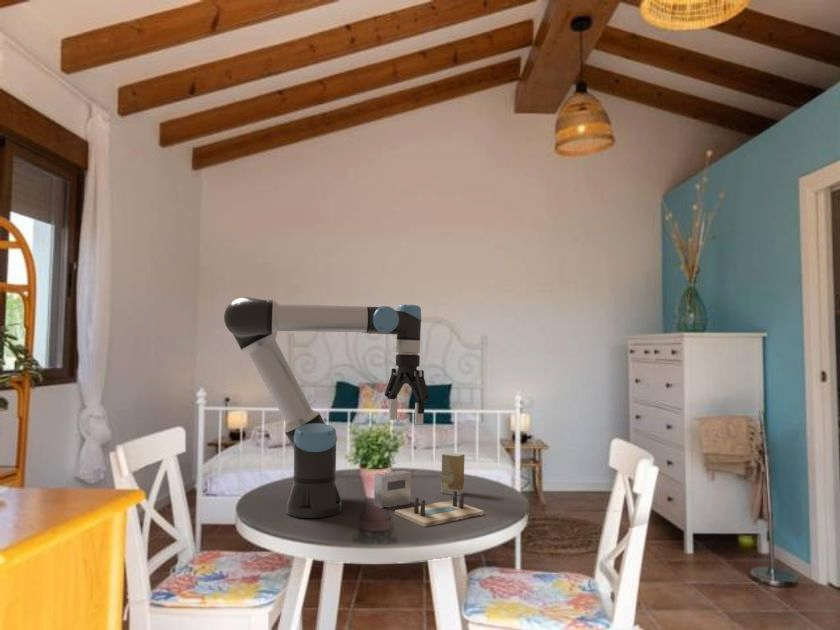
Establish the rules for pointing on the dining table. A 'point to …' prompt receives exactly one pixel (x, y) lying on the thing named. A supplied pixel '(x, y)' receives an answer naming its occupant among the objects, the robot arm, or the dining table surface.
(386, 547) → the dining table surface
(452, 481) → the skincare box
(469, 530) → the dining table surface
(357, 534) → the dining table surface
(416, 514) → the pin tray
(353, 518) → the dining table surface
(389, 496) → the drive
